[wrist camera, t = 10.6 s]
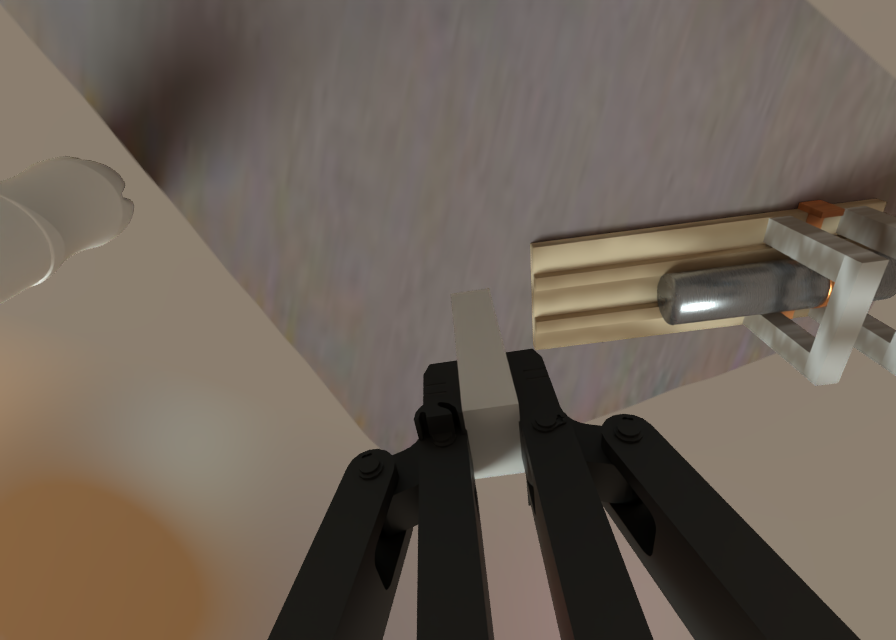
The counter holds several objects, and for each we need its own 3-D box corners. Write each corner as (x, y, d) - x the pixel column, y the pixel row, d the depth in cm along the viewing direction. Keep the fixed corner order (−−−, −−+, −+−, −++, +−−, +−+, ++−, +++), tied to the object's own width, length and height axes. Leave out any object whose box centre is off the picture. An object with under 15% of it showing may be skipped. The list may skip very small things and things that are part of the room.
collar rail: (530, 237, 44) (561, 293, 34) (878, 192, 43) (1017, 235, 33) (533, 344, 50) (560, 417, 40) (836, 306, 50) (941, 371, 40)
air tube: (654, 308, 47) (677, 335, 43) (660, 264, 45) (685, 288, 40) (848, 284, 47) (891, 309, 42) (866, 238, 44) (914, 260, 40)
